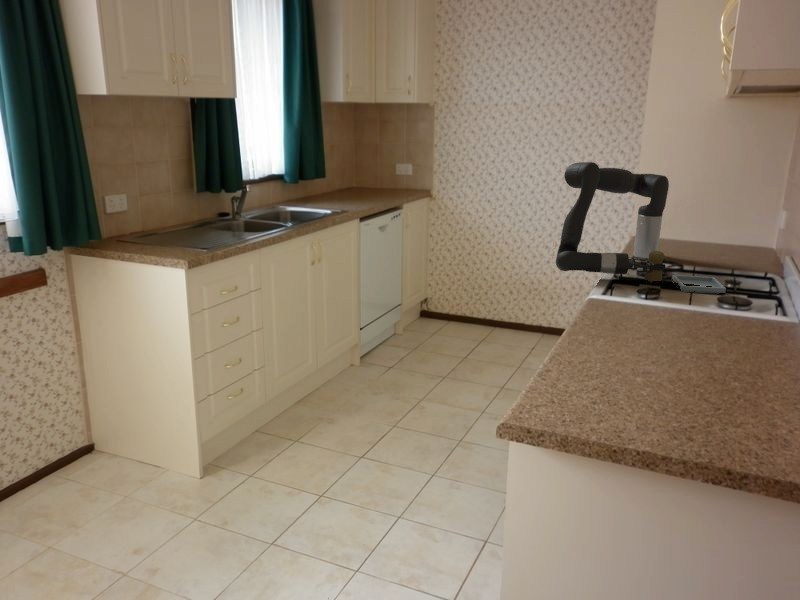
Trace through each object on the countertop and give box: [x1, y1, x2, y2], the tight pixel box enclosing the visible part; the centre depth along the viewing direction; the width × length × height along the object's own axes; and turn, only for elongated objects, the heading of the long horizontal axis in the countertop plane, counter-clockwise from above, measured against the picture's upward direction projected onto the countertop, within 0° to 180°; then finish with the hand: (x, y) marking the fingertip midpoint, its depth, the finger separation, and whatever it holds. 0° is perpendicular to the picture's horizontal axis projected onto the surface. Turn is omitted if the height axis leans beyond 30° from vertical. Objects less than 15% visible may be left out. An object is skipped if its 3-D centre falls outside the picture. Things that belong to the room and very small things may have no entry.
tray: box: [671, 274, 727, 295], centre depth 227 cm, size 14×14×2 cm
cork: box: [644, 250, 666, 281], centre depth 232 cm, size 6×6×11 cm
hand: (663, 265), depth 231 cm, fingers closed on cork, 3 cm apart
